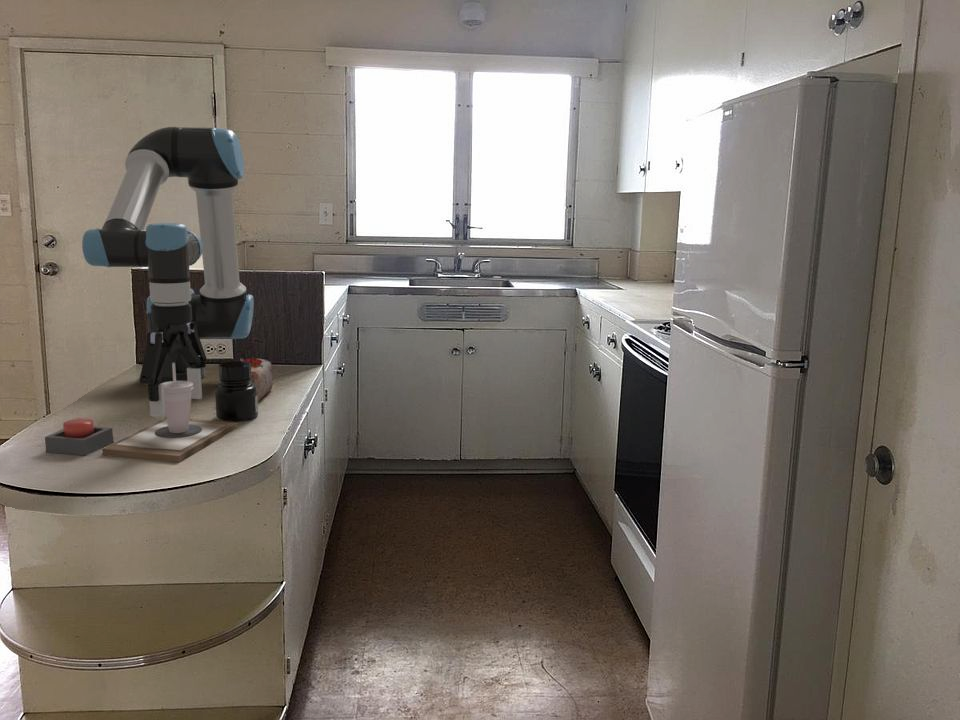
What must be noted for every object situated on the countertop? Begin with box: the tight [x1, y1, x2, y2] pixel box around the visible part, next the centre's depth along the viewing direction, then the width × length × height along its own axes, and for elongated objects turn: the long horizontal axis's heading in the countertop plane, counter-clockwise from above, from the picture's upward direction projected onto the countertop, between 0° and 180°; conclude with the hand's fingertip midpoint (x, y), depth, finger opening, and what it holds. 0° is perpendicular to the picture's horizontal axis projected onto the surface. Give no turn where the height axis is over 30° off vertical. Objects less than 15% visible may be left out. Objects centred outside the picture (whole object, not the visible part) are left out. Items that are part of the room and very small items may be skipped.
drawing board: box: [101, 417, 238, 463], centre depth 160 cm, size 22×16×2 cm
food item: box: [239, 356, 274, 403], centre depth 193 cm, size 14×8×10 cm, turn 0°
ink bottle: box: [214, 360, 259, 422], centre depth 176 cm, size 10×9×12 cm
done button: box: [62, 418, 95, 438], centre depth 154 cm, size 5×5×2 cm
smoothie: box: [162, 363, 193, 433], centre depth 160 cm, size 6×6×14 cm
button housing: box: [44, 425, 114, 456], centre depth 155 cm, size 8×8×3 cm
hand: (177, 407), depth 161 cm, fingers open, 13 cm apart
